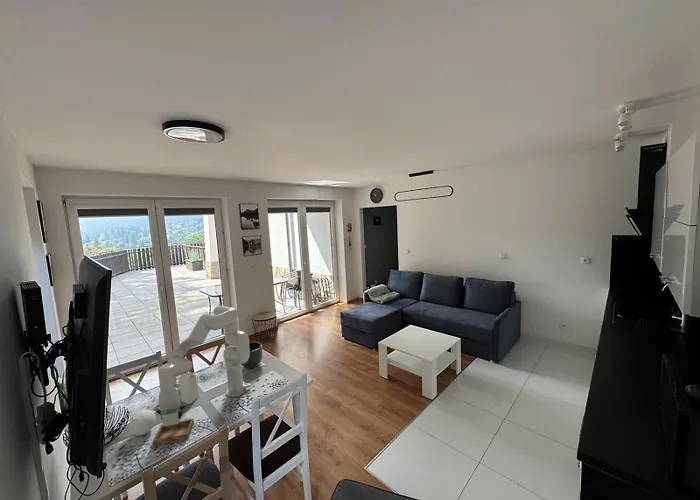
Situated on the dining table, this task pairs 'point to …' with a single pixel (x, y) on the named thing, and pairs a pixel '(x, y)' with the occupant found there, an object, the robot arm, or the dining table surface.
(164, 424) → the sage bin
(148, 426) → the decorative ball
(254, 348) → the planter
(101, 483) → the dining table surface
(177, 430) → the walnut crate
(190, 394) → the milk carton
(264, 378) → the dining table surface
